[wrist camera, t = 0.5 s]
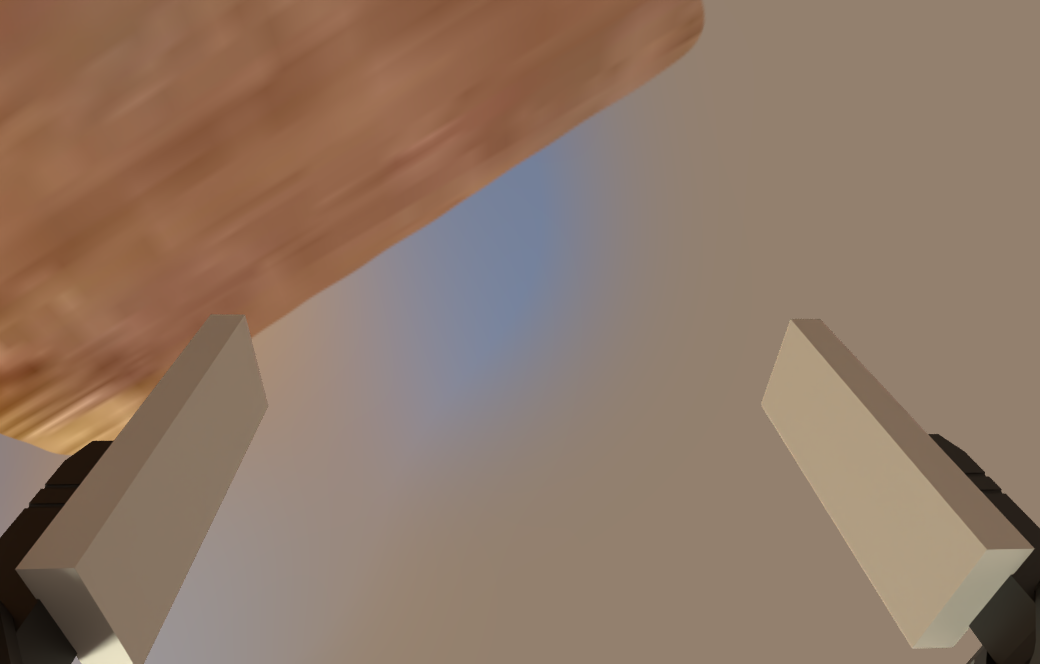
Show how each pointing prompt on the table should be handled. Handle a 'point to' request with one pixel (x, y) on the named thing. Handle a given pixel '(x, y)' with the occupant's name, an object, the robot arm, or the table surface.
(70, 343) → the table surface
